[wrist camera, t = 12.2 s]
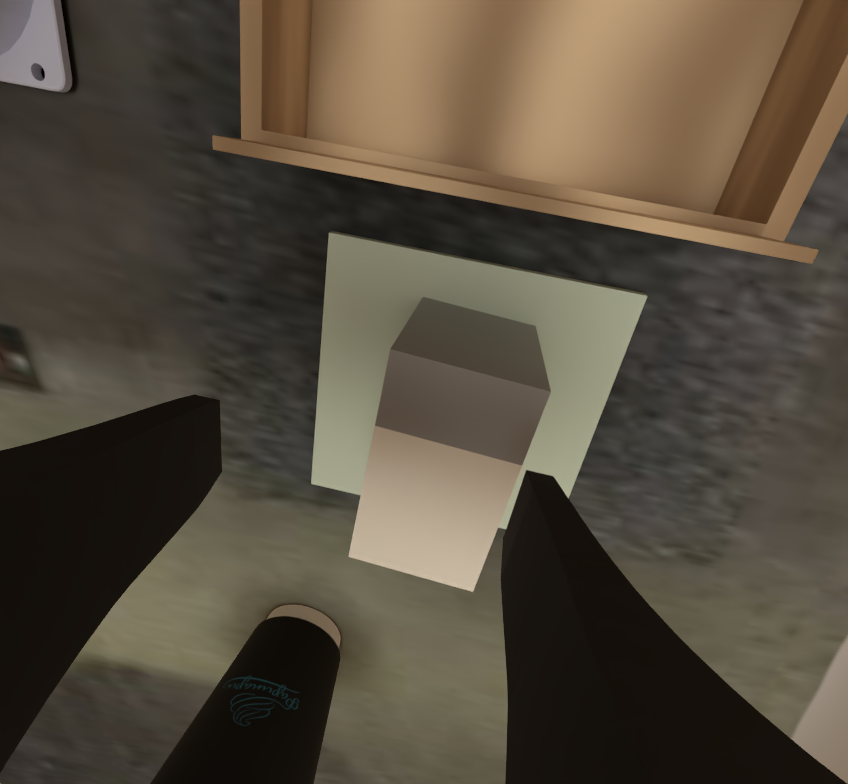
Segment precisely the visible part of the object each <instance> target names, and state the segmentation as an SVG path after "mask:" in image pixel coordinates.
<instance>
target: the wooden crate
mask: <svg viewBox="0 0 848 784" xmlns="http://www.w3.org/2000/svg"><path fill="white" fill-rule="evenodd" d="M240 63H241V139H236V138H228V137H221V136H214V135H212V137H213V150H218V151H224V152H229V153H234V154H239V155H245V156H250V157H255V158H260V159H265V160H271V161H276V162H281V163H286V164H292V165H297V166H302V167H307V168H313V169H318V170H323V171H328V172H334V173H339V174H344V175H349V176H355V177H360V178H365V179H370V180H375V181H381V182H386V183H391V184H396V185H402V186H407V187H412V188H417V189H423V190H428V191H433V192H438V193H444V194H449V195H454V196H459V197H465V198H470V199H475V200H480V201H486V202H491V203H496V204H501V205H506V206H512V207H517V208H522V209H527V210H533V211H538V212H543V213H548V214H554V215H559V216H564V217H569V218H575V219H580V220H585V221H590V222H596V223H601V224H606V225H611V226H616V227H622V228H627V229H632V230H637V231H643V232H648V233H653V234H658V235H664V236H669V237H674V238H679V239H685V240H690V241H695V242H700V243H706V244H711V245H716V246H721V247H727V248H732V249H737V250H742V251H747V252H753V253H758V254H763V255H768V256H774V257H779V258H784V259H789V260H795V261H800V262H805V263H810V264H812V262H813V261H814V259H815V257H816V255H817V253H818V251H819V250H817V249H813V248H809V247H805V246H800V245H796V244H792V243H788V242H784V240H785V238H786V236H787V234H788V232H789V230H790V228H791V226H792V224H793V222H794V220H795V218H796V216H797V214H798V212H799V210H800V208H801V206H802V204H803V202H804V200H805V198H806V196H807V194H808V192H809V190H810V188H811V186H812V184H813V182H814V180H815V178H816V176H817V174H818V171H819V169H820V167H821V165H822V163H823V161H824V159H825V157H826V155H827V153H828V151H829V149H830V147H831V145H832V143H833V141H834V139H835V137H836V135H837V133H838V131H839V129H840V127H841V125H842V123H843V121H844V119H845V117H846V115H847V113H848V0H240Z"/></svg>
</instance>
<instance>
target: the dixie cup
mask: <svg viewBox="0 0 848 784" xmlns="http://www.w3.org/2000/svg"><path fill="white" fill-rule="evenodd" d="M340 641H341V637H340V633H339V630H338V628H337V627H336V625H335V624H334V623H333V621H332V620H331V619H329V618H328V617H327V616H326V615H324V614H323V613H321V612H319V611H317V610H315V609H313V608H310V607H307V606H303V605H292V604H291V605H284V606H280V607H278V608H276V609H274V610H273V611H272V612H271V613H270V614H269V616H268V617H267V619H266V620H264V621H263V622H261V623H260V624H259V625H258V626H257V627H256V629H255V630H254V632H253V633H252V635H251V636H250V638H249V639H248V641H247V642H246V644H245V645H244V647H243V648H242V650H241V651H240V652H239V654H238V655H237V657H236V658H235V660H234V661H233V663H232V664H231V666H230V667H229V669H228V670H227V672H226V673H225V675H224V676H223V677H222V679H221V680H220V682H219V683H218V685H217V686H216V688H215V689H214V691H213V692H212V694H211V695H210V697H209V698H208V700H207V701H206V702H205V704H204V705H203V707H202V708H201V710H200V711H199V713H198V714H197V716H196V717H195V719H194V720H193V722H192V723H191V725H190V726H189V728H188V729H187V730H186V732H185V733H184V735H183V736H182V738H181V739H180V741H179V742H178V744H177V745H176V747H175V748H174V750H173V751H172V753H171V754H170V755H169V757H168V758H167V760H166V761H165V763H164V764H163V766H162V767H161V769H160V770H159V772H158V773H157V775H156V776H155V778H154V779H153V780H152V782H151V783H150V784H313V783H314V779H315V774H316V769H317V765H318V760H319V755H320V751H321V746H322V742H323V737H324V732H325V728H326V723H327V718H328V714H329V709H330V704H331V700H332V695H333V690H334V686H335V681H336V676H337V672H338V667H339V662H340V651H339V646H340Z"/></svg>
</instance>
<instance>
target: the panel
mask: <svg viewBox="0 0 848 784" xmlns="http://www.w3.org/2000/svg"><path fill="white" fill-rule="evenodd" d="M422 297H426V298H430V299H434V300H438V301H442V302H445V303H449V304H453V305H457V306H461V307H465V308H469V309H472V310H476V311H480V312H484V313H488V314H492V315H495V316H499V317H503V318H507V319H511V320H515V321H519V322H522V323H526V324H530V325H534V326H536V330H537V334H538V338H539V343H540V347H541V351H542V355H543V360H544V364H545V368H546V372H547V377H548V381H549V385H550V389H551V393H550V396H549V398H548V401H547V403H546V406H545V409H544V411H543V414H542V416H541V419H540V421H539V424H538V427H537V429H536V432H535V434H534V437H533V439H532V442H531V444H530V447H529V450H528V452H527V455H526V457H525V460H524V462H523V465H522V467H521V470H520V473H519V475H518V478H517V480H516V483H515V485H514V488H513V491H512V493H511V496H510V498H509V501H508V503H507V506H506V508H505V511H504V514H503V516H502V519H501V521H500V524H499V526H498V527H499V528H503V529H506V528H507V525H508V522H509V519H510V516H511V513H512V511H513V508H514V505H515V502H516V499H517V496H518V493H519V490H520V487H521V484H522V481H523V478H524V475H525V472H526V470H528V471H533V472H537V473H542V474H546V475H551V476H553V477H554V478H555V479H556V481H557V482H558V484H559V485H560V487H561V488H562V490H563V491H564V493H565V494H566V496H567V497H568V498H569V496H570V493H571V490H572V488H573V485H574V483H575V480H576V478H577V475H578V472H579V470H580V467H581V465H582V462H583V460H584V457H585V455H586V452H587V449H588V447H589V444H590V442H591V439H592V437H593V434H594V432H595V429H596V426H597V424H598V421H599V419H600V416H601V414H602V411H603V409H604V406H605V403H606V401H607V398H608V396H609V393H610V391H611V388H612V386H613V383H614V380H615V378H616V375H617V373H618V370H619V368H620V365H621V362H622V360H623V357H624V355H625V352H626V350H627V347H628V345H629V342H630V339H631V337H632V334H633V332H634V329H635V327H636V324H637V322H638V319H639V316H640V314H641V311H642V309H643V306H644V304H645V301H646V299H647V295H646V294H645V293H642V292H637V291H632V290H627V289H622V288H617V287H612V286H607V285H602V284H597V283H592V282H587V281H582V280H577V279H572V278H567V277H562V276H557V275H552V274H547V273H542V272H537V271H532V270H527V269H522V268H517V267H512V266H507V265H502V264H497V263H492V262H487V261H481V260H476V259H471V258H466V257H461V256H456V255H451V254H446V253H441V252H436V251H431V250H426V249H421V248H416V247H411V246H406V245H401V244H396V243H391V242H386V241H381V240H376V239H371V238H366V237H361V236H356V235H351V234H346V233H341V232H336V231H332V232H329V237H328V252H327V266H326V280H325V294H324V309H323V323H322V337H321V351H320V366H319V380H318V394H317V408H316V423H315V437H314V451H313V465H312V480H311V484H314V485H319V486H323V487H327V488H332V489H336V490H340V491H344V492H349V493H353V494H357V495H361V492H362V487H363V482H364V477H365V472H366V467H367V462H368V457H369V452H370V447H371V442H372V437H373V432H374V427H375V422H376V417H377V412H378V407H379V402H380V398H381V393H382V388H383V383H384V378H385V373H386V368H387V363H388V358H389V353H390V349H391V347H392V345H393V344H394V342H395V341H396V339H397V337H398V336H399V334H400V333H401V331H402V329H403V328H404V326H405V325H406V323H407V321H408V320H409V318H410V317H411V315H412V313H413V312H414V310H415V309H416V307H417V305H418V304H419V302H420V301H421V299H422Z"/></svg>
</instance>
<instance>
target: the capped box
mask: <svg viewBox="0 0 848 784" xmlns="http://www.w3.org/2000/svg"><path fill="white" fill-rule="evenodd" d="M550 393H551V389H550V385H549V381H548V377H547V372H546V368H545V364H544V360H543V355H542V351H541V347H540V343H539V338H538V334H537V330H536V326H534V325H530V324H526V323H522V322H519V321H515V320H511V319H507V318H503V317H499V316H495V315H492V314H488V313H484V312H480V311H476V310H472V309H469V308H465V307H461V306H457V305H453V304H449V303H445V302H442V301H438V300H434V299H430V298H426V297H422V299H421V301H420V302H419V304H418V305H417V307H416V309H415V310H414V312H413V313H412V315H411V317H410V318H409V320H408V321H407V323H406V325H405V326H404V328H403V329H402V331H401V333H400V334H399V336H398V337H397V339H396V341H395V342H394V344H393V345H392V347H391V349H390V353H389V358H388V363H387V368H386V373H385V378H384V383H383V388H382V393H381V398H380V402H379V407H378V412H377V417H376V422H375V427H374V432H373V437H372V442H371V447H370V452H369V457H368V462H367V467H366V472H365V477H364V482H363V487H362V492H361V497H360V502H359V507H358V512H357V517H356V522H355V527H354V532H353V537H352V542H351V547H350V552H349V557H351V558H355V559H358V560H362V561H365V562H369V563H372V564H376V565H379V566H383V567H387V568H390V569H394V570H397V571H401V572H404V573H408V574H411V575H415V576H418V577H422V578H425V579H429V580H433V581H436V582H440V583H443V584H447V585H450V586H454V587H457V588H461V589H464V590H468V591H471V592H473V590H474V588H475V585H476V583H477V580H478V578H479V575H480V572H481V570H482V567H483V565H484V562H485V560H486V557H487V555H488V552H489V549H490V547H491V544H492V542H493V539H494V537H495V534H496V531H497V529H498V526H499V524H500V521H501V519H502V516H503V514H504V511H505V508H506V506H507V503H508V501H509V498H510V496H511V493H512V491H513V488H514V485H515V483H516V480H517V478H518V475H519V473H520V470H521V467H522V465H523V462H524V460H525V457H526V455H527V452H528V450H529V447H530V444H531V442H532V439H533V437H534V434H535V432H536V429H537V427H538V424H539V421H540V419H541V416H542V414H543V411H544V409H545V406H546V403H547V401H548V398H549V396H550Z"/></svg>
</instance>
